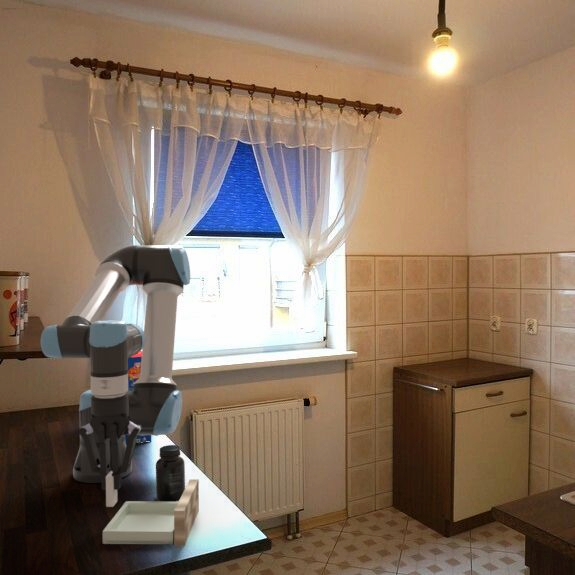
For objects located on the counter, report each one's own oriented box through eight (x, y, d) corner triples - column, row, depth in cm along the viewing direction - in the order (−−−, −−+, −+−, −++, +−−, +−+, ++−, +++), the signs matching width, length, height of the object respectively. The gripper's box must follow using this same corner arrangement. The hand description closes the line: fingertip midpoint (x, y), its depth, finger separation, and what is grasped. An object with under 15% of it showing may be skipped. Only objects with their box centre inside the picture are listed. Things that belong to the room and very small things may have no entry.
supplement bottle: (187, 491, 129) (186, 443, 129) (182, 503, 122) (182, 452, 122) (159, 491, 129) (158, 443, 129) (153, 503, 122) (152, 452, 122)
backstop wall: (190, 510, 119) (189, 479, 119) (198, 510, 119) (198, 479, 119) (174, 545, 103) (174, 510, 103) (184, 545, 103) (184, 510, 103)
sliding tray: (126, 512, 118) (126, 501, 118) (188, 512, 117) (187, 501, 117) (102, 543, 104) (102, 531, 104) (172, 544, 103) (172, 531, 103)
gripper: (71, 398, 107) (74, 512, 108) (135, 398, 107) (137, 512, 108) (85, 390, 114) (88, 496, 115) (145, 389, 114) (147, 495, 115)
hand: (111, 503), depth 111 cm, fingers closed
